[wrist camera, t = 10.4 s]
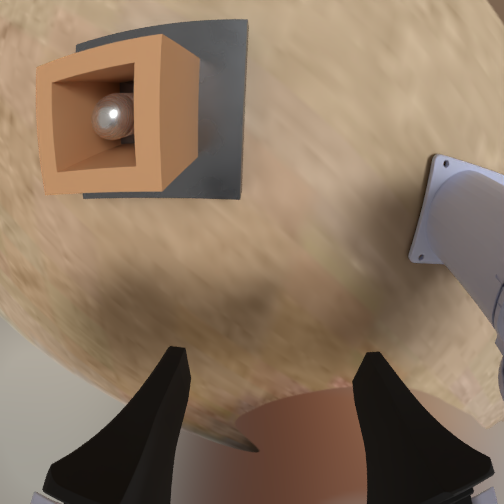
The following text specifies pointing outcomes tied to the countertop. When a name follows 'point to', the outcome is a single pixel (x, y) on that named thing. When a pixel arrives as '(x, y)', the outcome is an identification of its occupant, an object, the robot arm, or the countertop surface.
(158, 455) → the robot arm
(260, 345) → the countertop surface
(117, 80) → the collar
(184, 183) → the post base
